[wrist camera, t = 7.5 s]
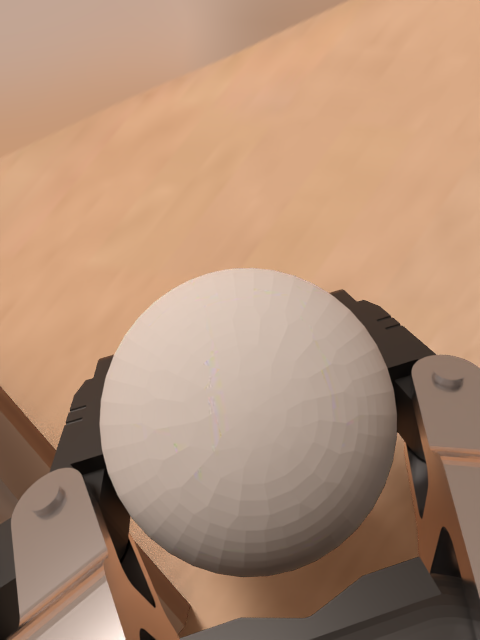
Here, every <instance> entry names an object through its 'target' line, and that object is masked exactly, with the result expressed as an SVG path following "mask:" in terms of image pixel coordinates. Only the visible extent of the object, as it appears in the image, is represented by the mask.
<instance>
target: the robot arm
mask: <svg viewBox="0 0 480 640" xmlns="http://www.w3.org/2000/svg"><path fill="white" fill-rule="evenodd" d="M329 294H331V295H332V296H334V297H335V298H336V299H337V300H339V301H340V302H341V303H342V304H343V305H345V306H346V307H347V308H348V309H349V310H350V311H351V312H352V313H353V314H354V315H355V316H356V318H357V319H358V320H359V321H360V322H361V323H362V324H363V325H364V327H365V328H366V330H367V331H368V333H369V334H370V336H371V337H372V339H373V340H374V342H375V343H376V345H377V346H378V349H379V351H380V353H381V355H382V357H383V359H384V362H385V364H386V366H387V369H388V372H389V376H390V379H391V382H392V386H393V389H394V396H395V403H396V411H397V432H398V433H399V434H400V436H401V437H402V438H403V440H404V454H405V460H406V466H407V472H408V477H409V483H410V489H411V495H412V500H413V506H414V512H415V517H416V524H417V533H418V555H419V557H416V558H414V559H411V560H408V561H405V562H402V563H399V564H396V565H393V566H390V567H387V568H384V569H381V570H378V571H375V572H373V573H370V574H367V575H364V576H362V577H361V578H359V579H358V580H357V581H355V582H354V583H353V584H352V585H350V586H349V587H348V588H347V589H345V590H344V591H343V592H341V593H340V594H339V595H338V596H336V597H335V598H334V599H333V600H331V601H330V602H329V603H327V604H326V605H325V606H324V607H322V608H321V609H320V610H319V611H317V612H316V613H315V614H313V615H312V616H310V617H307V618H238V619H235V620H232V621H229V622H226V623H223V624H220V625H218V626H215V627H212V628H209V629H206V630H203V631H200V632H197V633H194V634H191V635H188V636H185V637H182V638H179V637H178V635H177V633H176V631H175V629H174V628H173V626H172V625H171V623H170V621H169V620H168V618H167V616H166V614H165V612H164V610H163V608H162V606H161V603H160V601H159V599H158V596H157V594H156V592H155V589H154V587H153V585H152V582H151V580H150V577H149V575H148V573H147V570H146V568H145V566H144V563H143V561H142V559H141V556H140V554H139V551H138V549H137V547H136V544H135V542H134V540H133V538H132V536H131V534H130V533H129V525H130V514H129V513H128V511H127V510H126V508H125V506H124V505H123V503H122V502H121V500H120V499H119V497H118V495H117V493H116V490H115V488H114V486H113V484H112V481H111V479H110V477H109V474H108V471H107V467H106V463H105V459H104V455H103V451H102V445H101V434H100V408H101V398H102V393H103V388H104V383H105V379H106V375H107V373H108V370H109V367H110V365H111V362H112V359H113V357H114V355H111V356H108V357H104V358H101V359H99V360H98V363H97V367H96V371H95V374H94V378H92V379H89V380H86V381H85V382H84V383H83V385H82V386H81V387H80V389H79V390H78V391H77V392H76V394H75V395H74V398H73V401H72V404H71V407H70V413H69V414H68V417H67V420H66V425H65V426H64V429H63V432H62V435H61V438H60V441H59V444H58V447H57V450H56V454H55V457H54V460H53V463H52V466H51V469H50V472H49V473H48V474H46V475H45V476H43V477H41V478H40V479H39V480H37V481H36V482H35V483H34V484H33V485H31V486H30V487H29V488H28V490H27V491H26V492H25V493H24V494H23V495H22V497H21V498H20V500H19V501H18V503H17V505H16V507H15V509H14V511H13V514H12V517H11V518H10V519H8V520H6V521H5V522H3V523H1V524H0V640H480V368H478V367H477V366H476V365H474V364H473V363H471V362H469V361H467V360H465V359H462V358H459V357H455V356H449V355H436V354H435V353H434V352H433V351H432V350H430V349H429V348H428V347H427V346H426V345H424V344H423V343H422V342H421V341H420V340H419V339H417V338H416V337H415V336H414V335H413V334H412V333H410V332H409V331H408V330H407V329H406V328H405V327H403V326H400V323H399V322H398V321H396V320H395V319H394V318H391V316H390V315H389V314H388V313H387V312H386V311H385V310H383V309H382V308H381V307H380V306H378V305H375V304H373V303H370V302H368V301H365V300H362V301H358V302H356V301H355V300H354V299H353V298H352V297H351V296H350V295H349V294H348V293H347V292H346V291H344V290H338V291H335V292H331V293H329Z"/></svg>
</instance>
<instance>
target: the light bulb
mask: <svg viewBox="0 0 480 640" xmlns="http://www.w3.org/2000/svg"><path fill="white" fill-rule="evenodd" d="M100 434H101V445H102V451H103V455H104V459H105V463H106V467H107V471H108V474H109V477H110V479H111V481H112V484H113V486H114V488H115V490H116V493H117V495H118V497H119V499H120V500H121V502H122V503H123V505H124V506H125V508H126V510H127V511H128V513H129V514H130V516H131V517H132V519H133V520H134V521H135V522H136V523H137V524H138V525H139V526H140V528H141V529H142V530H143V531H144V532H145V533H146V534H147V535H148V536H149V537H150V538H151V539H152V540H153V541H155V542H156V543H157V544H159V545H160V546H161V547H162V548H164V549H165V550H166V551H167V552H169V553H170V554H172V555H174V556H176V557H178V558H180V559H181V560H183V561H185V562H187V563H189V564H191V565H193V566H196V567H199V568H202V569H205V570H208V571H211V572H214V573H217V574H224V575H231V576H238V577H257V576H270V575H275V574H279V573H284V572H288V571H293V570H295V569H298V568H300V567H302V566H305V565H307V564H310V563H312V562H314V561H317V560H318V559H320V558H321V557H323V556H324V555H326V554H328V553H329V552H331V551H332V550H334V549H335V548H337V547H338V546H339V545H340V544H342V543H343V542H344V541H345V540H346V539H347V538H348V537H349V536H350V535H351V534H352V533H353V532H354V531H356V530H357V529H358V527H359V526H360V525H361V523H362V522H363V521H364V519H365V518H366V517H367V515H368V514H369V513H370V511H371V510H372V509H373V507H374V505H375V503H376V501H377V499H378V498H379V496H380V494H381V492H382V490H383V488H384V486H385V483H386V480H387V477H388V474H389V471H390V468H391V465H392V462H393V456H394V450H395V445H396V439H397V411H396V403H395V396H394V389H393V386H392V382H391V379H390V376H389V372H388V369H387V366H386V364H385V362H384V359H383V357H382V355H381V353H380V351H379V349H378V346H377V345H376V343H375V342H374V340H373V339H372V337H371V336H370V334H369V333H368V331H367V330H366V328H365V327H364V325H363V324H362V323H361V322H360V321H359V320H358V319H357V318H356V316H355V315H354V314H353V313H352V312H351V311H350V310H349V309H348V308H347V307H346V306H345V305H343V304H342V303H341V302H340V301H339V300H337V299H336V298H335V297H334V296H332V295H331V294H329V293H328V292H326V291H324V290H323V289H321V288H320V287H318V286H316V285H315V284H312V283H310V282H308V281H306V280H303V279H301V278H299V277H296V276H293V275H290V274H286V273H282V272H278V271H275V270H266V269H257V268H239V269H228V270H222V271H217V272H212V273H208V274H206V275H203V276H200V277H197V278H194V279H191V280H189V281H187V282H185V283H183V284H181V285H179V286H177V287H176V288H174V289H172V290H170V291H169V292H168V293H166V294H165V295H163V296H162V297H161V298H159V299H158V300H157V301H155V302H154V303H153V304H152V305H151V306H150V307H149V308H148V309H147V310H146V311H145V312H144V313H143V314H142V315H141V316H140V317H139V318H138V319H137V320H136V321H135V323H134V324H133V325H132V327H131V328H130V329H129V331H128V332H127V333H126V335H125V336H124V338H123V340H122V342H121V343H120V345H119V347H118V349H117V351H116V353H115V354H114V357H113V359H112V362H111V365H110V367H109V370H108V373H107V375H106V379H105V383H104V388H103V393H102V398H101V408H100Z"/></svg>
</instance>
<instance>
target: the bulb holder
mask: <svg viewBox="0 0 480 640" xmlns="http://www.w3.org/2000/svg"><path fill="white" fill-rule="evenodd" d="M55 454H56V450H55V449H54V448H53V447H52V446H51V445H50V444H49V442H48V441H47V440H46V439H45V438H44V437H43V435H42V434H41V433H40V432H39V431H38V430H37V429H36V427H35V426H34V425H33V424H32V423H31V422H30V420H29V419H28V418H27V417H26V416H25V415H24V414H23V412H22V411H21V410H20V409H19V408H18V407H17V406H16V404H15V403H14V402H13V401H12V400H11V399H10V397H9V396H8V395H7V394H6V393H5V392H4V391H3V389H2V388H1V387H0V524H1V523H3V522H5V521H6V520H8V519H10V518H11V517H12V514H13V511H14V509H15V507H16V505H17V503H18V501H19V500H20V498H21V497H22V495H23V494H24V493H25V492H26V491H27V490H28V488H29V487H30V486H31V485H33V484H34V483H35V482H36V481H37V480H39V479H40V478H41V477H43V476H45V475H46V474H48V473H49V472H50V469H51V466H52V463H53V460H54V457H55ZM134 542H135V541H134ZM135 544H136V543H135ZM136 547H137V549H138V551H139V554H140V556H141V559H142V561H143V563H144V566H145V568H146V570H147V573H148V575H149V577H150V580H151V582H152V585H153V587H154V589H155V592H156V594H157V596H158V599H159V601H160V603H161V606H162V608H163V610H164V612H165V614H166V616H167V618H168V620H169V621H170V623H171V625H172V626H173V628H174V629H175V631H176V633H177V635H178V634H179V633H180V631H181V630H182V629H183V628H184V627H185V624H186V619H187V615H188V611H189V607H190V605H189V604H188V602H187V601H186V600H185V599H184V598H183V597H182V596H181V594H180V593H179V592H178V591H177V590H176V589H175V587H174V586H173V585H172V584H171V583H170V582H169V581H168V579H167V578H166V577H165V576H164V575H163V574H162V572H161V571H160V570H159V569H158V568H157V567H156V566H155V564H154V563H153V562H152V561H151V560H150V559H149V558H148V556H147V555H146V554H145V553H144V552H143V551H142V549H141V548H140V547H139V546H138V545H137V544H136Z"/></svg>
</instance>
